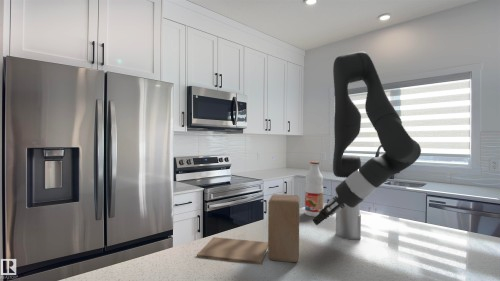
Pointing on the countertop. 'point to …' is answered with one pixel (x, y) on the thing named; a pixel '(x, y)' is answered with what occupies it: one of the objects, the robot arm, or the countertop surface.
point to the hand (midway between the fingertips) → (315, 222)
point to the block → (283, 228)
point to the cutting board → (234, 250)
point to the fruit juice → (313, 190)
